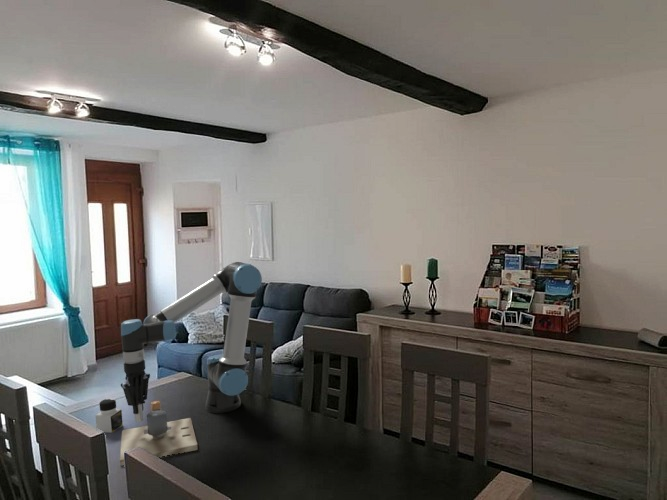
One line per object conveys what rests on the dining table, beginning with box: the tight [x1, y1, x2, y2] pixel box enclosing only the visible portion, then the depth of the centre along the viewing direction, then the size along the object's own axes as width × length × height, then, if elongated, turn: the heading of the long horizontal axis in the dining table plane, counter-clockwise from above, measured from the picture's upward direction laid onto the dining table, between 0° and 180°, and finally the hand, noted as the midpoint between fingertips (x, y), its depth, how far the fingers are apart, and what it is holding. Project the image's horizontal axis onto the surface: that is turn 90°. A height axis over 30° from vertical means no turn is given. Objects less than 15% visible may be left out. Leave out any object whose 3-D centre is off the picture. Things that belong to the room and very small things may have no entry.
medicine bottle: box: [95, 398, 124, 434], centre depth 204 cm, size 7×7×12 cm
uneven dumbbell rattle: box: [144, 400, 171, 435], centre depth 194 cm, size 10×16×7 cm, turn 21°
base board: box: [119, 417, 198, 467], centre depth 190 cm, size 26×26×4 cm
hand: (139, 420), depth 193 cm, fingers closed
